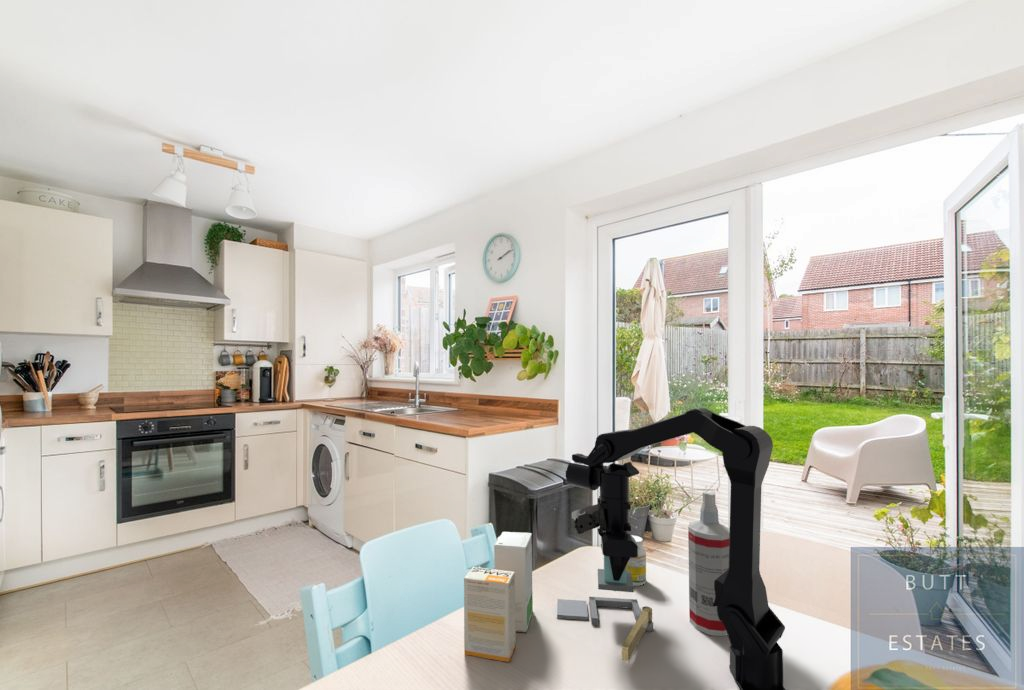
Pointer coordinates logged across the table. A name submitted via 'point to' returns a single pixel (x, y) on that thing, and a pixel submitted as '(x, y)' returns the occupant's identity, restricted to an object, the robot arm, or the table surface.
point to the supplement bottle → (638, 564)
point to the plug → (609, 584)
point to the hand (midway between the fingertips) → (614, 574)
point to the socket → (615, 603)
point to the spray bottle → (706, 566)
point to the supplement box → (489, 613)
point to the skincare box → (517, 572)
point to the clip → (636, 633)
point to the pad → (572, 609)
